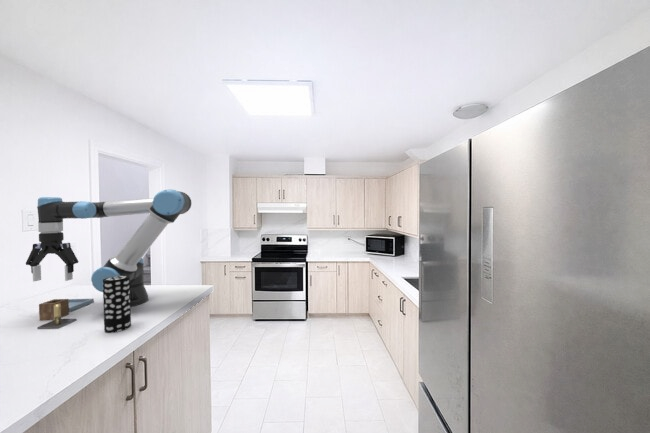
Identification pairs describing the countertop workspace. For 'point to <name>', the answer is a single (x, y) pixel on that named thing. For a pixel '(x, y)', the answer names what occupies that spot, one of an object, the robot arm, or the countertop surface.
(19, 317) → the countertop surface
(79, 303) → the tray
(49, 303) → the walnut block
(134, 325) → the countertop surface
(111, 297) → the white-spotted black cylinder
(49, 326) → the brass post base plate
